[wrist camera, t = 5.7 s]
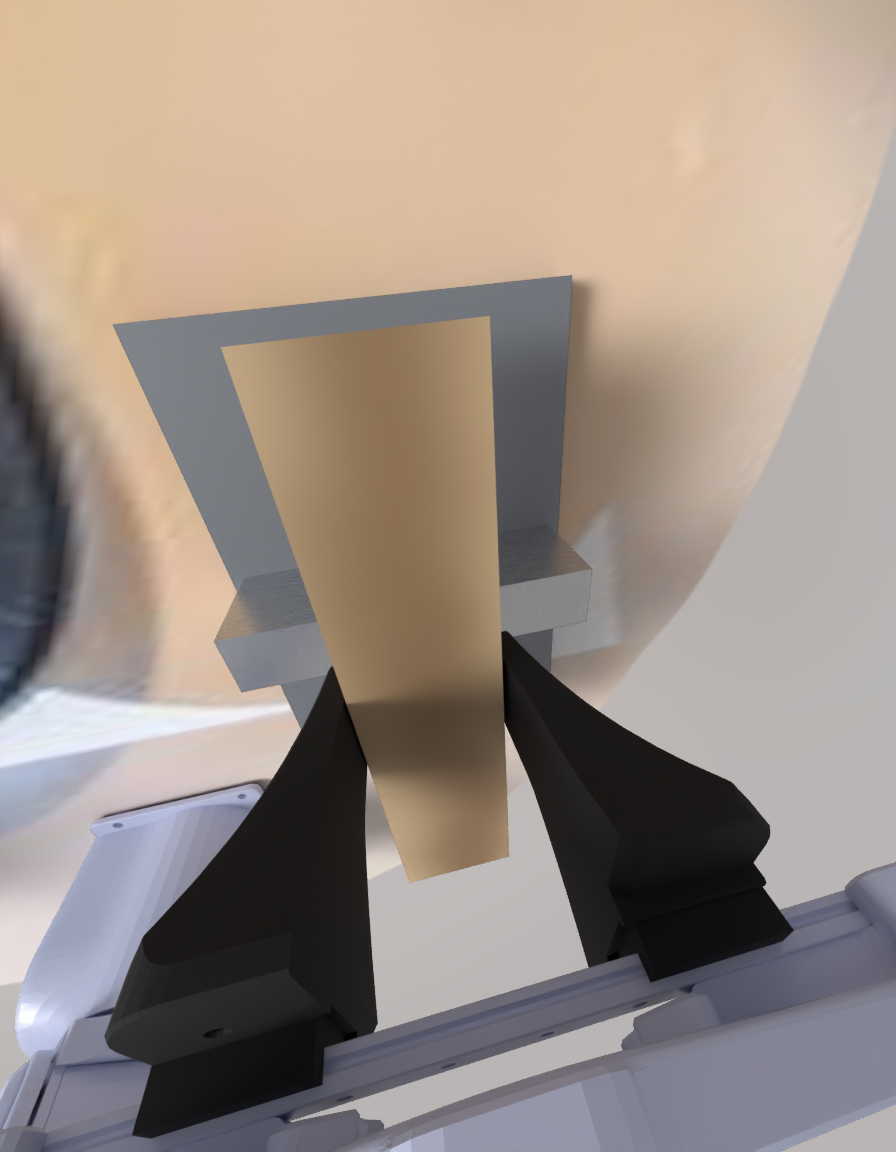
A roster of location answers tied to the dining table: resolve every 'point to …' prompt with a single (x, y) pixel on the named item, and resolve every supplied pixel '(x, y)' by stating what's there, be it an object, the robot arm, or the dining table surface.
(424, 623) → the oak bar
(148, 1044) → the robot arm
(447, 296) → the slate base plate
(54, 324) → the dining table surface
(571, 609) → the steel ridge
